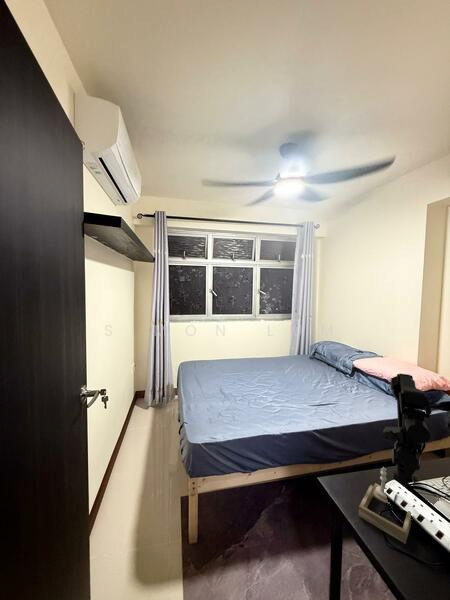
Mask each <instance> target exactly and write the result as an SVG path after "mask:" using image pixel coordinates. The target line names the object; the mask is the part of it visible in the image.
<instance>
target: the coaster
mask: <svg viewBox="0 0 450 600" xmlns="http://www.w3.org/2000/svg"><path fill="white" fill-rule="evenodd" d="M373 486H374V494H373V497H372V498H373V499H376V500H378V501H380V502H382V503H383V504H386V503H388V504H390V502H388V499H385V498H382V497H380V496H379V495H377V493H376V492H375V490H376V487H378V486H381V484H378V483H376V482H375V483H374V484H373ZM388 504H387V505H388ZM390 505H391V504H390ZM390 505H389V506H390Z"/></svg>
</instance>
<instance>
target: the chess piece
mask: <svg viewBox="0 0 450 600" xmlns="http://www.w3.org/2000/svg"><path fill="white" fill-rule="evenodd" d="M386 471H387V468H385V467H384V466H382V468H380V477H379V479H380V480H381V484H380V486H378V487H376V490H375V492H376V493H377V495H379V496H380V497H382V498H385V499H387V496H386V494H385V493H384V489H385V487H386V482H387V472H386Z"/></svg>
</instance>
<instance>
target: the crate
mask: <svg viewBox="0 0 450 600" xmlns="http://www.w3.org/2000/svg"><path fill="white" fill-rule="evenodd" d="M373 494H374V485H372V484H370V485H369V486H368V489H367V490H366V493H365V495H364V496H363V498H362V500H361V502H360V503H359V506H358V517H359V518H362V520H364V521H366V522H368V523H369V524H371V525H373V526H375V527H376V528H377V529H379V530H381V531H383V532H385V533H386V534H388V535H389V536H392V537H393V538H395V539H397V540H398V541H400V542H402V543H403V544H404V545H405V544H407V540H408V536H409V533H410V530H411V526H412V522H411V520H412V521H413V519H411V512H410V511H408V510H407V511H406V512H407V513H406V515H405V519H404V522H403V526H402V527H401V526H399V525H397V524H395V523H394V522H392V521H390V520H388V519H386V518H385V517H383V516H381V515H380V514H378V513H376V512H374V511H372V510H370V509H369V508H368V507H369V504H370V503H371V502H372V499H373V498H374V497H373Z"/></svg>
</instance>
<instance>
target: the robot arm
mask: <svg viewBox="0 0 450 600" xmlns="http://www.w3.org/2000/svg"><path fill="white" fill-rule="evenodd" d="M389 383H390V385H389V386H390V390H392V391H391V392H392V393H391V394H392V396H393V397H394V399H395V400H396V408H397V409H396V410H397V412H396V413H397V426H385V427H384V428H383V430H382V433H383V434H382V436H383V438H384V439H385V440H386V441H387V442H394V447H393V448H392V450H391V461H392V465H395V472H394V474H393V479H394V480H397V481H398V482H400V483H403V484H405V483H406V484H405V485H407V483H408V482H412V481H413V480H415V481H416V480H417V479H416V477H417V476H415V475H414V473H415V472H416V471H417V472H418V471H420V469H421V464H422V463H421V462H422V459H421V457H422V456H421V455H422V453H423V452H424V451H425V448H426V446H427V442H429V441H430V438H431V433H430V430H429V428H428V426H427V424H426V422H425V419H431V414H432V407H431V403H430V402H431V401H430V400H429V398H428V396H427V395H426V394H425V392H424V391H423V390H421V389H419V388H417V386H416V382H415V380H414V378H413V375H411V374H406V373H397V375H396V376H393V377H391V378H390V382H389Z"/></svg>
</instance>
